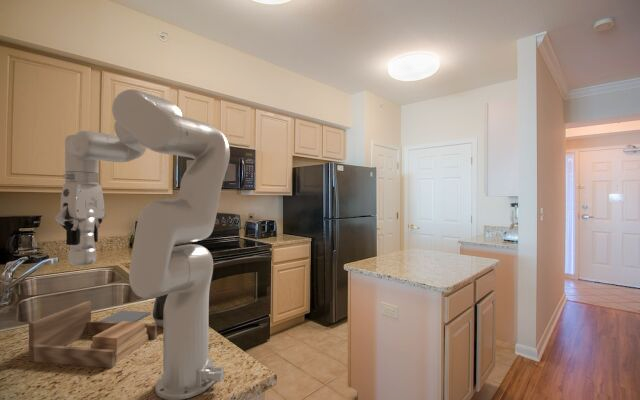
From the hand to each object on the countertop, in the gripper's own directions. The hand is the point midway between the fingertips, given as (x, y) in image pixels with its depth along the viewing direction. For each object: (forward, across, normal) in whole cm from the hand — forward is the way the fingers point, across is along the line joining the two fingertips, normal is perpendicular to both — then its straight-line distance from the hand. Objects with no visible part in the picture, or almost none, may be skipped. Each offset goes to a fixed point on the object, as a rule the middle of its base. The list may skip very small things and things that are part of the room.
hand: (82, 242), depth 87 cm
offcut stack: (+30, 0, -12) cm, 32 cm away
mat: (+30, +20, +4) cm, 36 cm away
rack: (+30, 0, -4) cm, 30 cm away
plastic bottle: (+7, 0, 0) cm, 7 cm away
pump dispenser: (+30, +18, -14) cm, 38 cm away
